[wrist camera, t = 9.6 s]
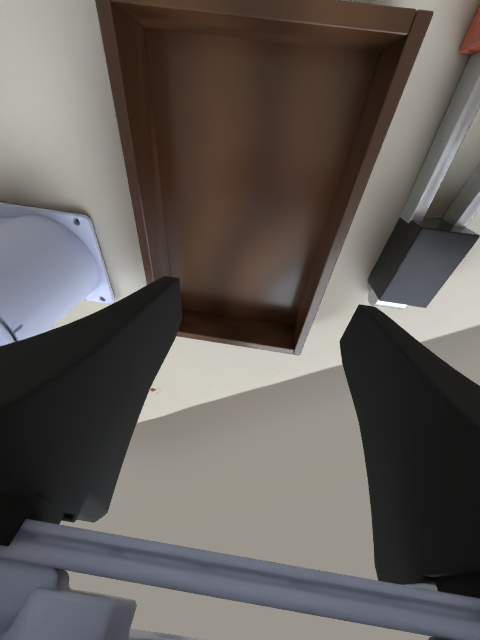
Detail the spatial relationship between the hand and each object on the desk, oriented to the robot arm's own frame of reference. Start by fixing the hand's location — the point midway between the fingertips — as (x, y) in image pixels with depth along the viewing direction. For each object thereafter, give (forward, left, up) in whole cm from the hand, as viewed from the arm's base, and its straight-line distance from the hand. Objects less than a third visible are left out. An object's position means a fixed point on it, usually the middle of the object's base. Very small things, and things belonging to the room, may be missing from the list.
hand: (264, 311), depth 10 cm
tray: (-2, +1, -9) cm, 10 cm away
